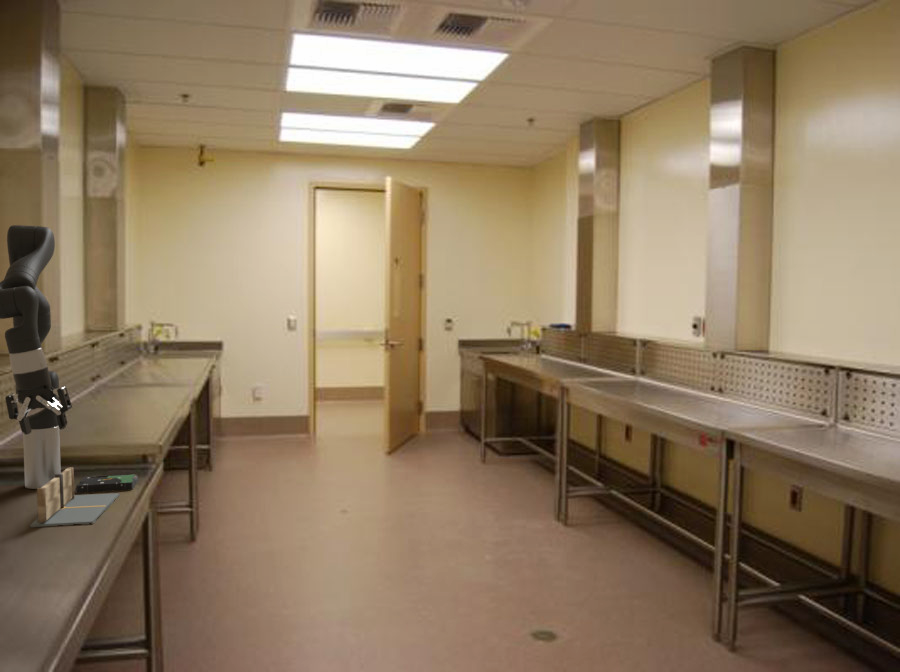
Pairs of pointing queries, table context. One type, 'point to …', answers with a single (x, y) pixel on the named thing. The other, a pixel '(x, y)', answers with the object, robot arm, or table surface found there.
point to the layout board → (80, 510)
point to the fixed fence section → (66, 485)
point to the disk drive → (107, 483)
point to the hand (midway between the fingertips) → (45, 431)
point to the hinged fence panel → (48, 499)
